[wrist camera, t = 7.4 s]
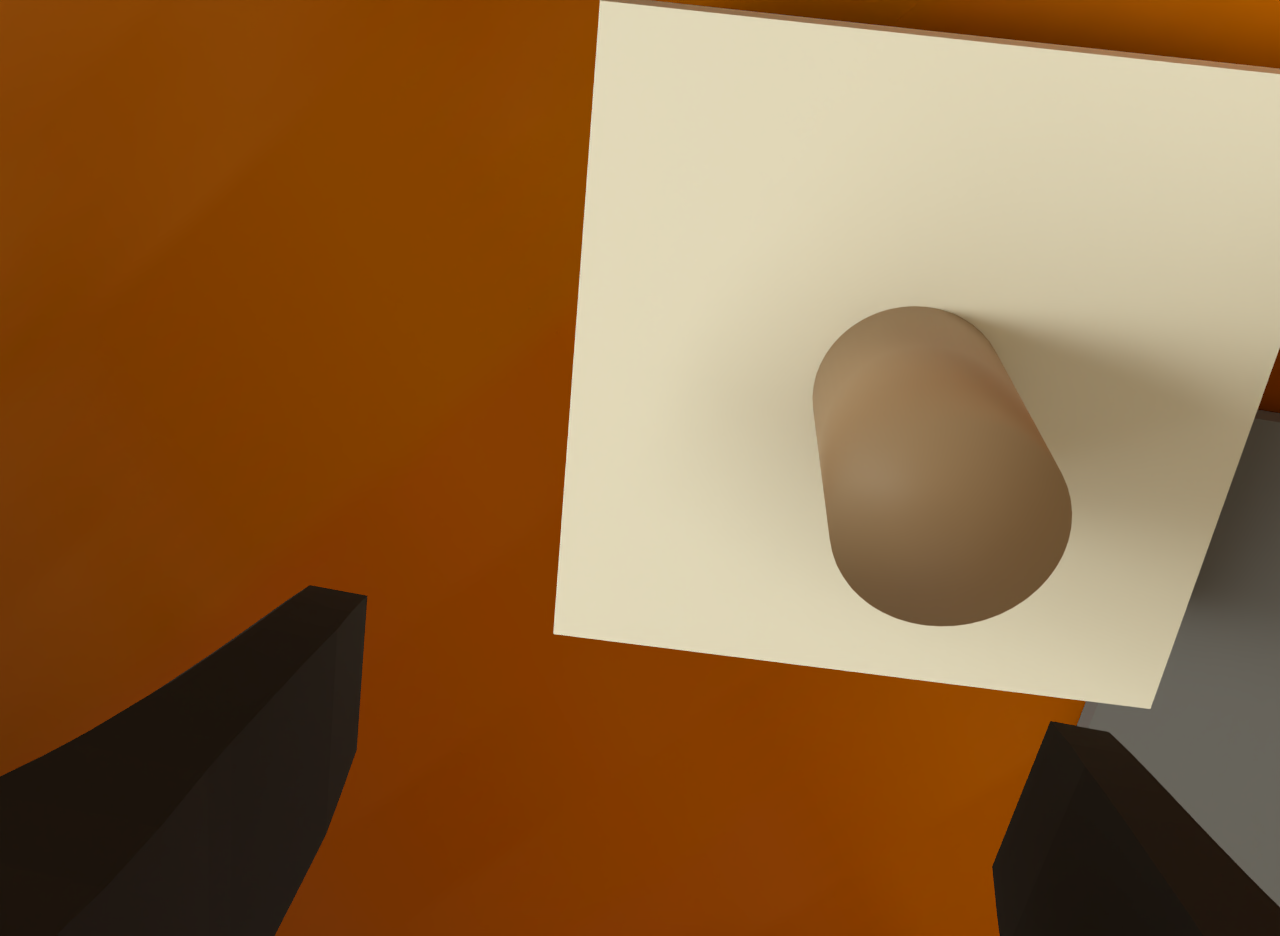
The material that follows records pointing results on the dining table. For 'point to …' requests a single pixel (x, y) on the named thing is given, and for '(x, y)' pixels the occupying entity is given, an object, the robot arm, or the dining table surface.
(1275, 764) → the mat
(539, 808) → the dining table surface
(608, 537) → the lid
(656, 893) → the dining table surface
